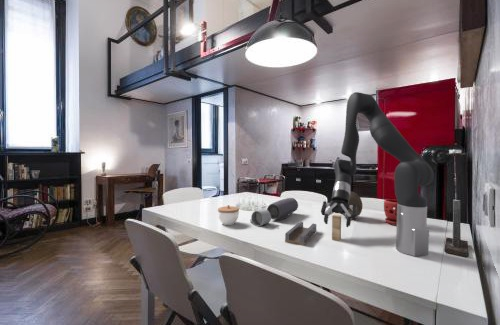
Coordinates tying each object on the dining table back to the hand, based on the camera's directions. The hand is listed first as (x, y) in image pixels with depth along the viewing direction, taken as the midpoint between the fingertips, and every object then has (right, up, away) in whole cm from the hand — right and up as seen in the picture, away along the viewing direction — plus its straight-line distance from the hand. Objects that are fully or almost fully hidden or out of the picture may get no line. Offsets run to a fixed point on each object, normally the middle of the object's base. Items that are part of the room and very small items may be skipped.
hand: (336, 224), depth 104 cm
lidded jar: (-48, -5, +23) cm, 53 cm away
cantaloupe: (+19, -5, +36) cm, 41 cm away
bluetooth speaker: (-18, -5, +36) cm, 41 cm away
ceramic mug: (-32, -6, +22) cm, 39 cm away
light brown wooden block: (0, -6, 0) cm, 6 cm away
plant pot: (+40, -6, +24) cm, 47 cm away
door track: (-14, -6, +3) cm, 16 cm away
